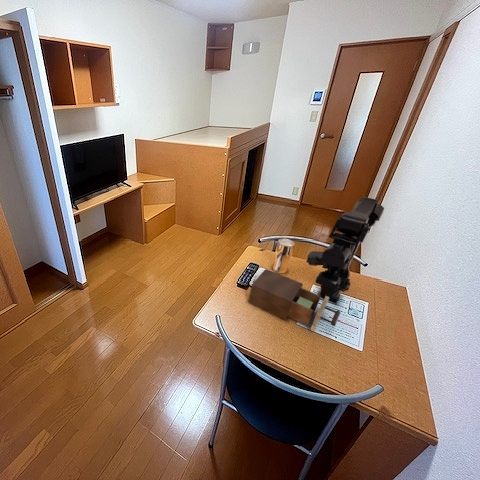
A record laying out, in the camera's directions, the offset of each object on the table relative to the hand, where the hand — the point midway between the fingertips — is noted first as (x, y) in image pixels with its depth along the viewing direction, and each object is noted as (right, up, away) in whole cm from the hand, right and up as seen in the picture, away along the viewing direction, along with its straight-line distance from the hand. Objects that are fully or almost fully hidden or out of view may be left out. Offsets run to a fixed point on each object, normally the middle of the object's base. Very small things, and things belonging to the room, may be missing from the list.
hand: (326, 288), depth 91 cm
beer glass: (-2, +3, +31) cm, 31 cm away
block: (-6, -9, +6) cm, 13 cm away
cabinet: (-13, -8, +13) cm, 20 cm away
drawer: (-4, -11, +5) cm, 13 cm away
